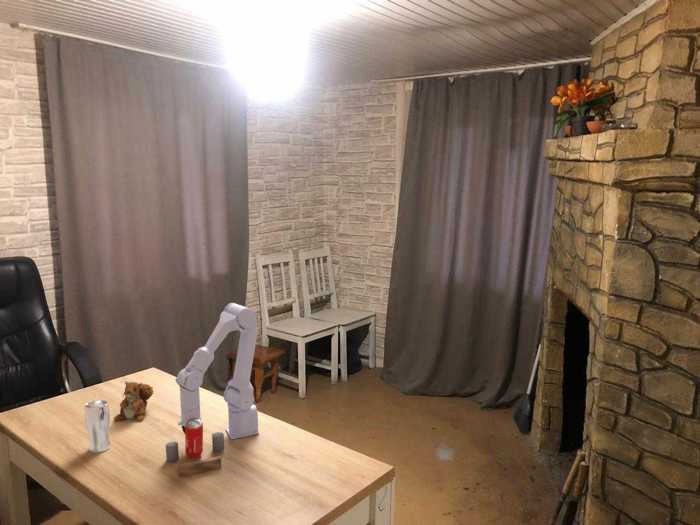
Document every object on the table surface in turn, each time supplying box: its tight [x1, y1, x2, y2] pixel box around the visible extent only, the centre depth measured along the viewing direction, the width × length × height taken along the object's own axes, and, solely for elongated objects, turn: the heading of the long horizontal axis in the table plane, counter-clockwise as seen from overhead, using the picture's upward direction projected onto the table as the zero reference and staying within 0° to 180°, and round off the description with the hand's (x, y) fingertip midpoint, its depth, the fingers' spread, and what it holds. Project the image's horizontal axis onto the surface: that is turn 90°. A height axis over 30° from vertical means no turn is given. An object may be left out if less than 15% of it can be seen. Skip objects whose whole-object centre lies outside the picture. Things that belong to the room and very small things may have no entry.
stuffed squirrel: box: [113, 381, 154, 422], centre depth 195 cm, size 10×14×13 cm
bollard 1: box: [165, 441, 180, 464], centre depth 166 cm, size 4×4×5 cm
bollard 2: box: [211, 431, 225, 453], centre depth 172 cm, size 4×4×5 cm
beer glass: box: [84, 399, 111, 454], centre depth 172 cm, size 7×7×15 cm
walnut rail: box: [177, 455, 222, 478], centre depth 160 cm, size 12×2×3 cm, turn 116°
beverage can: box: [184, 418, 204, 459], centre depth 166 cm, size 5×5×12 cm
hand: (192, 446), depth 171 cm, fingers closed, pressing on beverage can
